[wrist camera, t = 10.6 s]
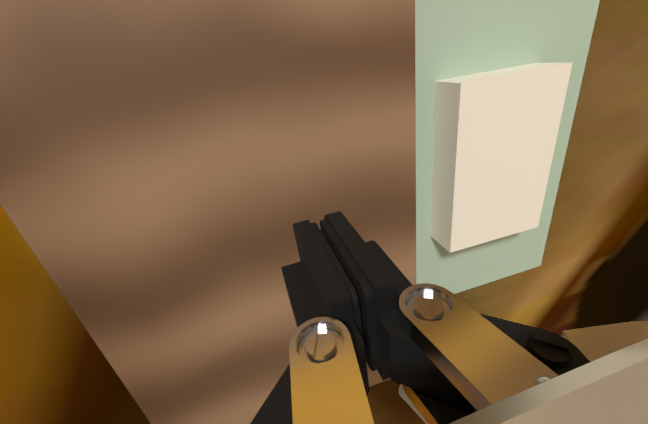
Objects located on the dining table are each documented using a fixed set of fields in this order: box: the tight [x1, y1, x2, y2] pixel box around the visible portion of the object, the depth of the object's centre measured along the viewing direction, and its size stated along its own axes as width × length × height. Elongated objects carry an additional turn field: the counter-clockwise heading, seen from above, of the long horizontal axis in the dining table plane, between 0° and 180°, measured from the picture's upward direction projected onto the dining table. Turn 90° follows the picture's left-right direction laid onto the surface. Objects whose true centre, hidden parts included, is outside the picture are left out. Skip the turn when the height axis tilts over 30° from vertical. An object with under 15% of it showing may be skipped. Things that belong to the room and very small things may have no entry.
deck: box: [0, 0, 416, 424], centre depth 14 cm, size 22×14×4 cm, turn 9°
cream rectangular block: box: [430, 63, 572, 253], centre depth 17 cm, size 9×6×2 cm, turn 8°
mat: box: [415, 0, 600, 294], centre depth 18 cm, size 20×12×1 cm, turn 9°
